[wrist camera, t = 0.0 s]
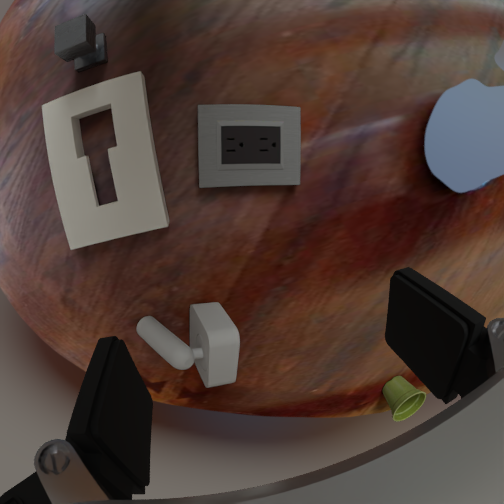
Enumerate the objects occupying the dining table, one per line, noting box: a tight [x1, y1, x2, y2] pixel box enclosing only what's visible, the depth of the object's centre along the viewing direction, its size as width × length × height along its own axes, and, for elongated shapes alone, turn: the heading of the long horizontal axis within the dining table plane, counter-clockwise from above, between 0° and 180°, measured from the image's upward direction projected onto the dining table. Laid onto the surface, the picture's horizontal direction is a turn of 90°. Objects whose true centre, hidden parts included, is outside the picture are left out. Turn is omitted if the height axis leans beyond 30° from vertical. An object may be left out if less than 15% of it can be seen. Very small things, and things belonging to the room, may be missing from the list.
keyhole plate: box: [42, 71, 170, 250], centre depth 32 cm, size 20×14×3 cm
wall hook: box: [137, 302, 240, 388], centre depth 39 cm, size 10×12×12 cm
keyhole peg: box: [55, 14, 108, 72], centre depth 24 cm, size 4×4×9 cm
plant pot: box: [382, 376, 426, 421], centre depth 56 cm, size 9×9×9 cm
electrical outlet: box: [198, 104, 301, 188], centre depth 36 cm, size 13×10×2 cm
